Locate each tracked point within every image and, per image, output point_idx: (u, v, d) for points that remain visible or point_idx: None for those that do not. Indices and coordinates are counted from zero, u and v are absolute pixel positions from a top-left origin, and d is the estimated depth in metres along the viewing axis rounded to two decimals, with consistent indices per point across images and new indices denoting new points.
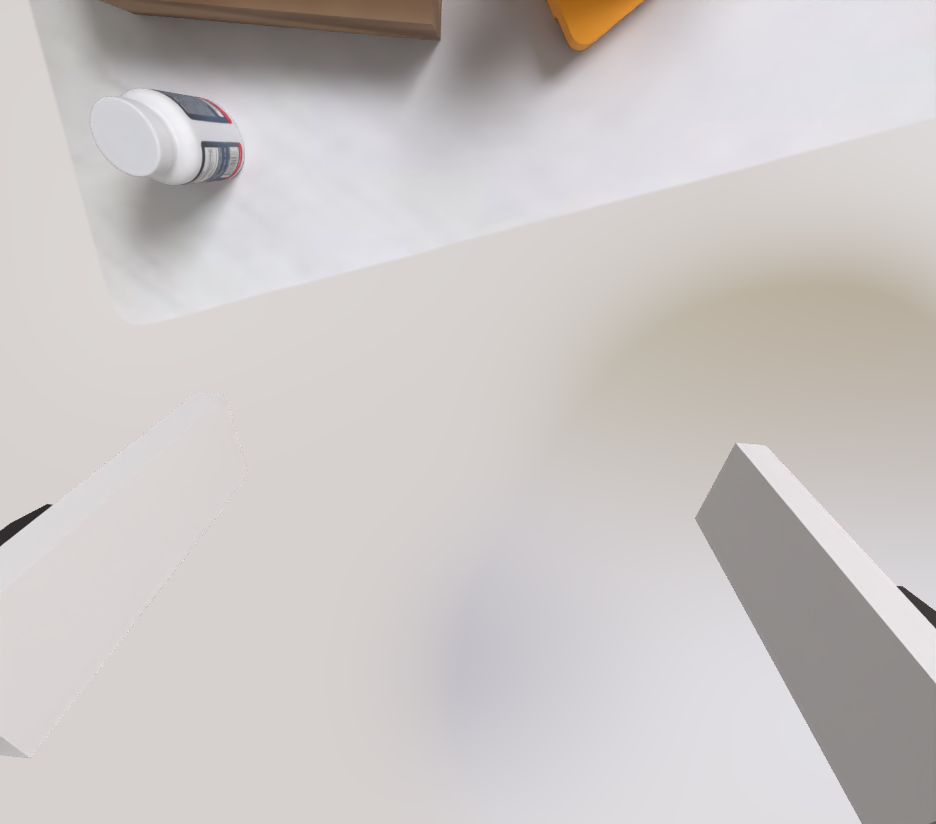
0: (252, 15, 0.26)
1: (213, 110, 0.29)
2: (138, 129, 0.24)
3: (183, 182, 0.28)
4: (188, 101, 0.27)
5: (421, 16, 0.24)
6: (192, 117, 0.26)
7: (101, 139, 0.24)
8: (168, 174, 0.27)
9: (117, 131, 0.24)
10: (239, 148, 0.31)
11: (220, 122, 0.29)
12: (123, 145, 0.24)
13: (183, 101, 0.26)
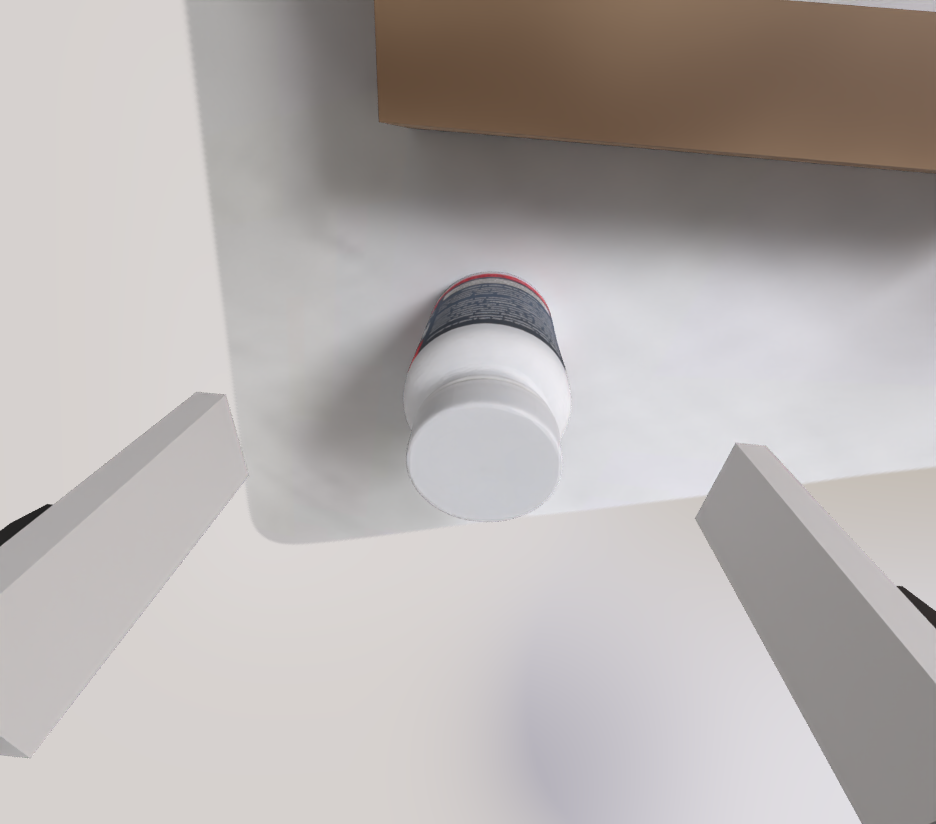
0: None
1: (544, 309, 0.15)
2: (527, 457, 0.10)
3: None
4: (538, 319, 0.13)
5: None
6: (563, 363, 0.12)
7: (425, 468, 0.10)
8: None
9: (471, 458, 0.10)
10: None
11: None
12: (473, 479, 0.10)
13: (543, 330, 0.12)
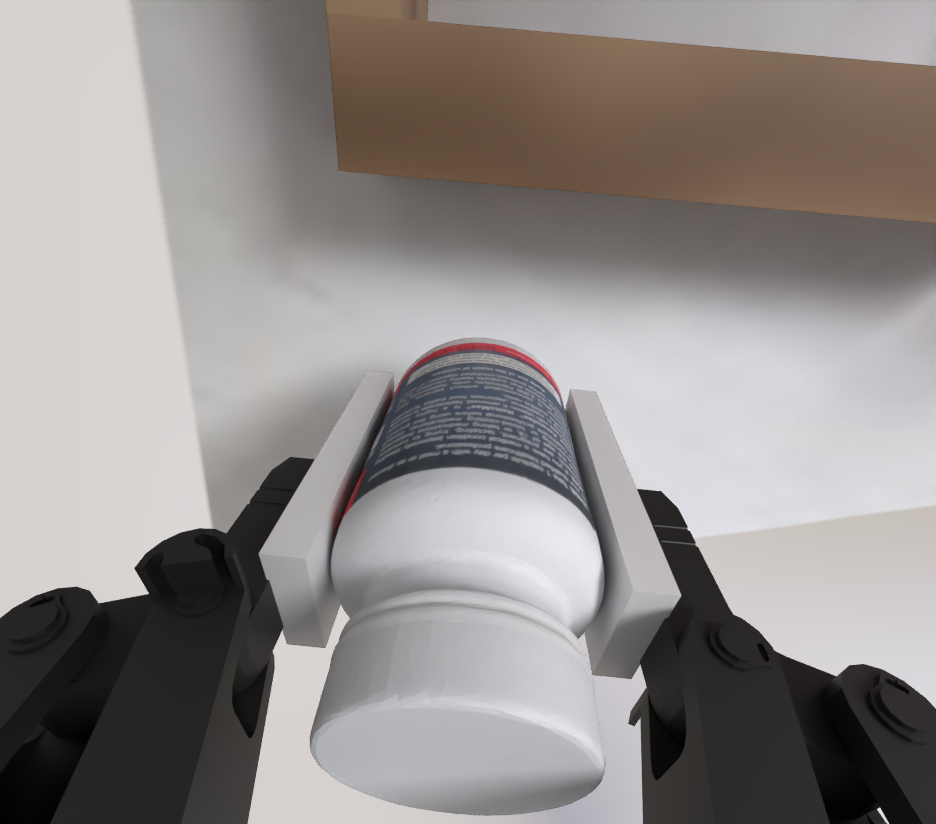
0: None
1: (554, 400, 0.10)
2: (537, 764, 0.05)
3: None
4: (548, 434, 0.08)
5: None
6: None
7: (347, 765, 0.06)
8: None
9: (431, 757, 0.05)
10: None
11: (568, 428, 0.10)
12: (436, 777, 0.06)
13: (557, 458, 0.08)
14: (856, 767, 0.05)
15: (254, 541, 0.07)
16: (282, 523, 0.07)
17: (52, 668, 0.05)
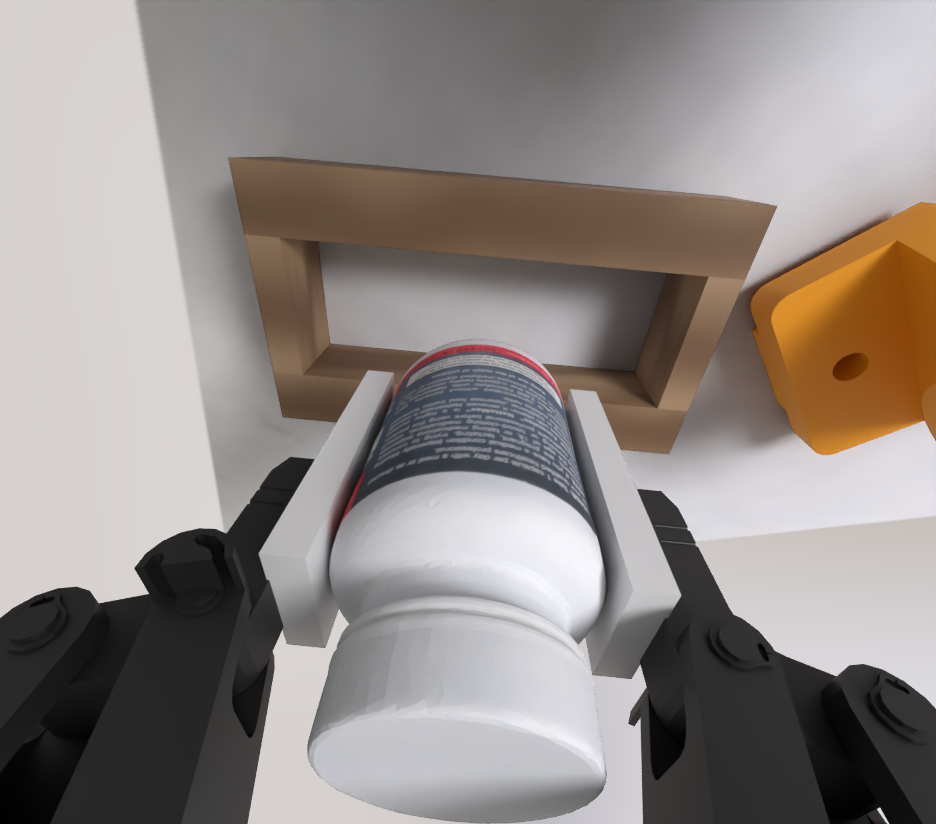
0: None
1: (555, 403, 0.10)
2: (538, 773, 0.05)
3: None
4: (549, 437, 0.08)
5: (658, 448, 0.22)
6: (590, 515, 0.08)
7: (345, 774, 0.05)
8: None
9: (430, 766, 0.05)
10: None
11: (568, 430, 0.10)
12: (436, 786, 0.06)
13: (557, 462, 0.08)
14: (856, 767, 0.05)
15: (254, 541, 0.07)
16: (282, 523, 0.07)
17: (52, 668, 0.05)
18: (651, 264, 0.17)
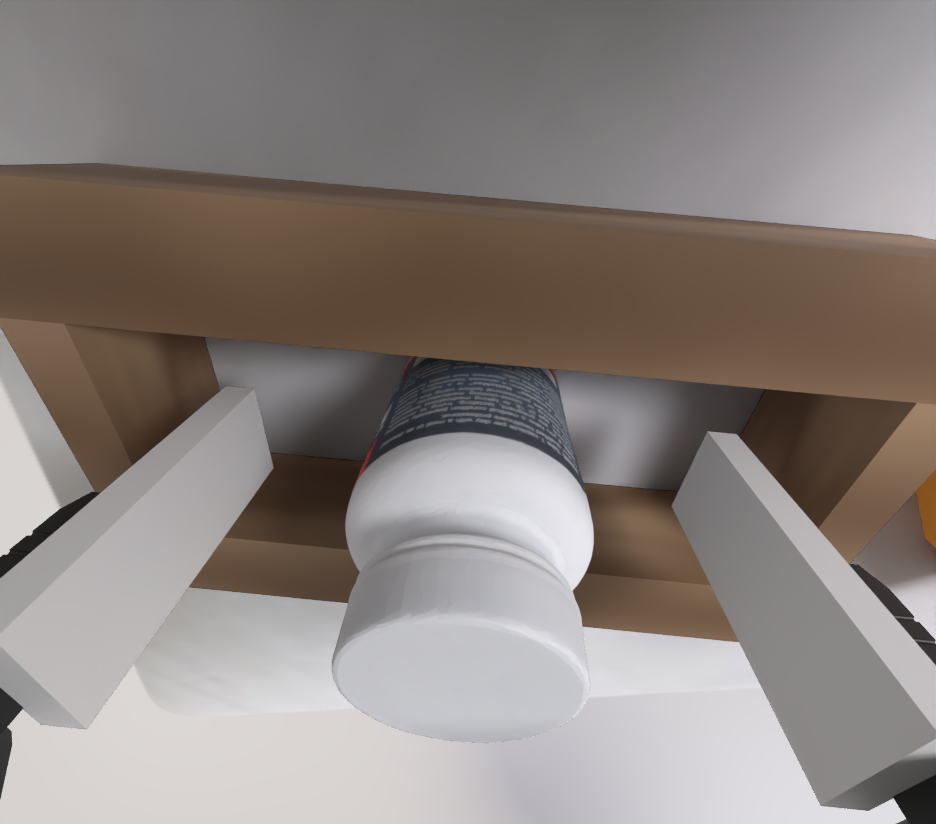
0: None
1: (549, 381, 0.11)
2: (530, 682, 0.06)
3: None
4: (543, 408, 0.09)
5: None
6: None
7: (364, 688, 0.06)
8: None
9: (438, 678, 0.06)
10: None
11: (562, 407, 0.11)
12: (442, 700, 0.06)
13: (551, 429, 0.08)
14: None
15: None
16: None
17: None
18: (804, 380, 0.08)
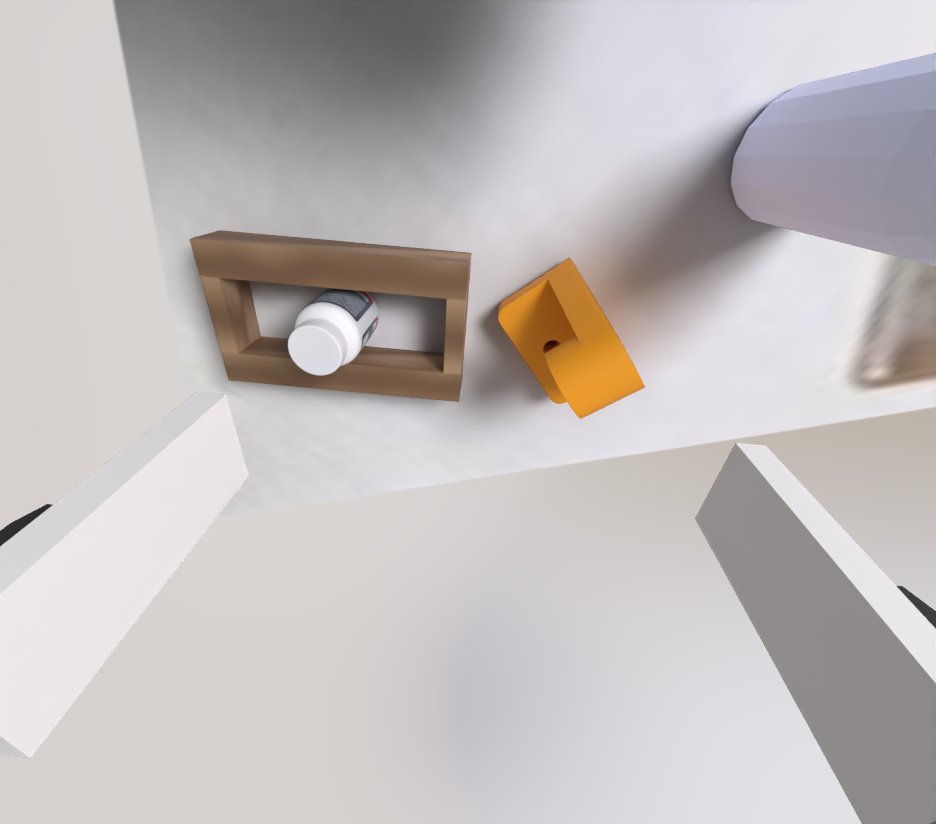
0: None
1: (363, 299, 0.34)
2: (327, 346, 0.29)
3: None
4: (351, 302, 0.32)
5: (451, 398, 0.36)
6: (357, 318, 0.32)
7: (295, 351, 0.29)
8: None
9: (309, 347, 0.29)
10: (377, 320, 0.36)
11: (368, 308, 0.34)
12: (312, 355, 0.30)
13: (349, 305, 0.32)
14: None
15: None
16: None
17: None
18: (415, 292, 0.31)
